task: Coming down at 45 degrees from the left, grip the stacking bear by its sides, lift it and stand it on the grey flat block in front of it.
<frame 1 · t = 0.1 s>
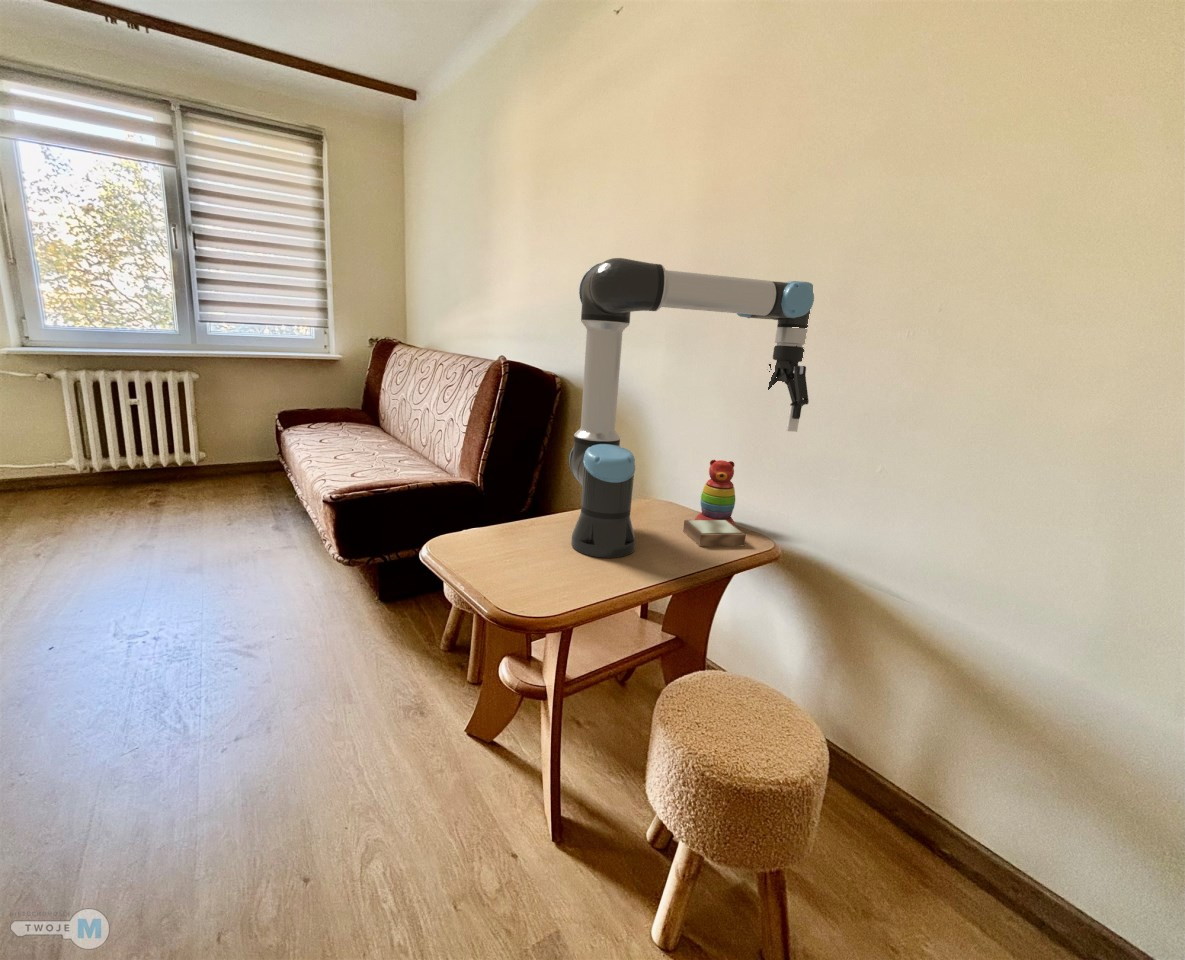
hand: (777, 427, 146), 28 cm above the table, tool pointing down, fingers open, 13 cm apart
grey flat block: (712, 538, 140), on the table
stacking bear: (714, 523, 153), on the table
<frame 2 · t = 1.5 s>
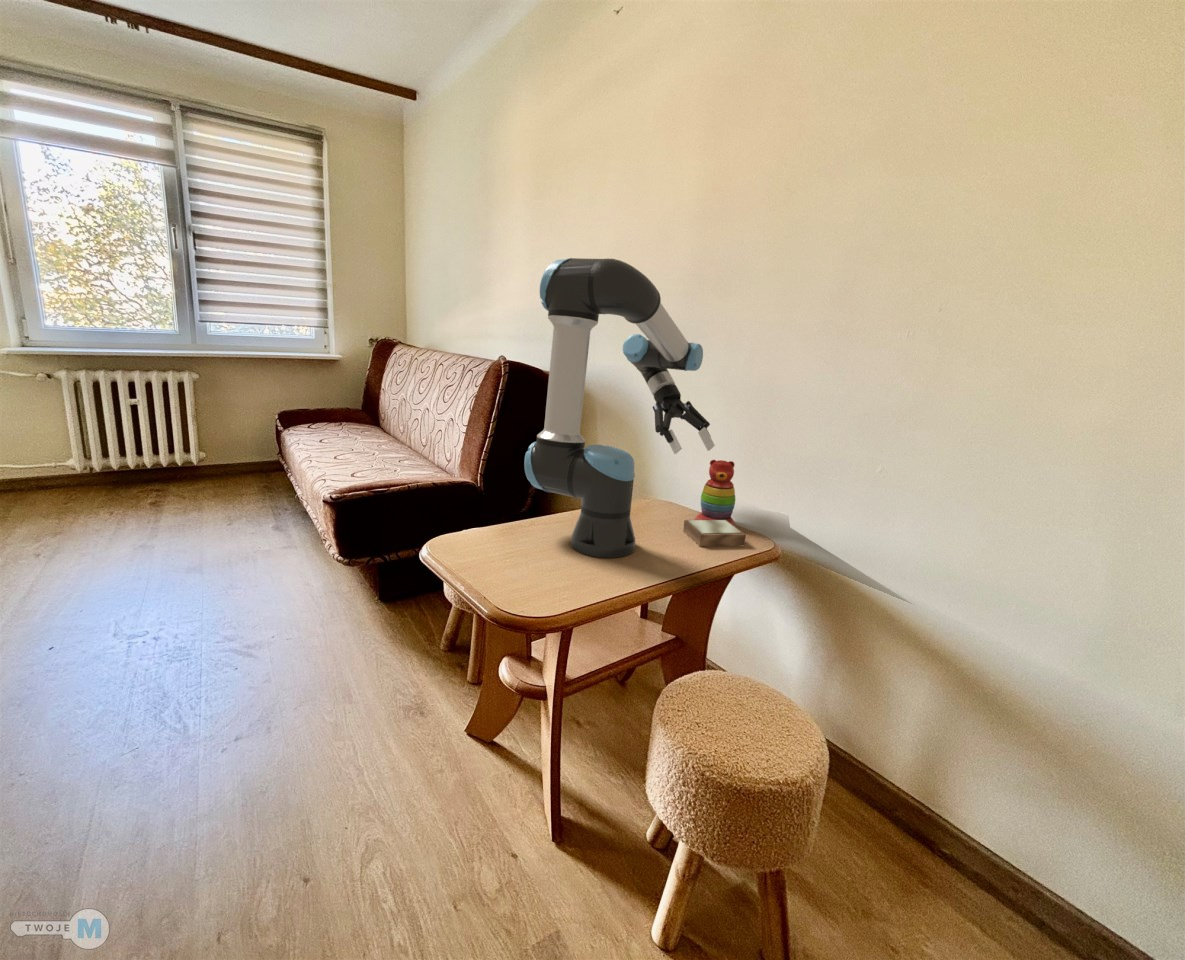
hand: (695, 449, 157), 19 cm above the table, tool tilted 45°, fingers open, 13 cm apart
nothing on the table moved.
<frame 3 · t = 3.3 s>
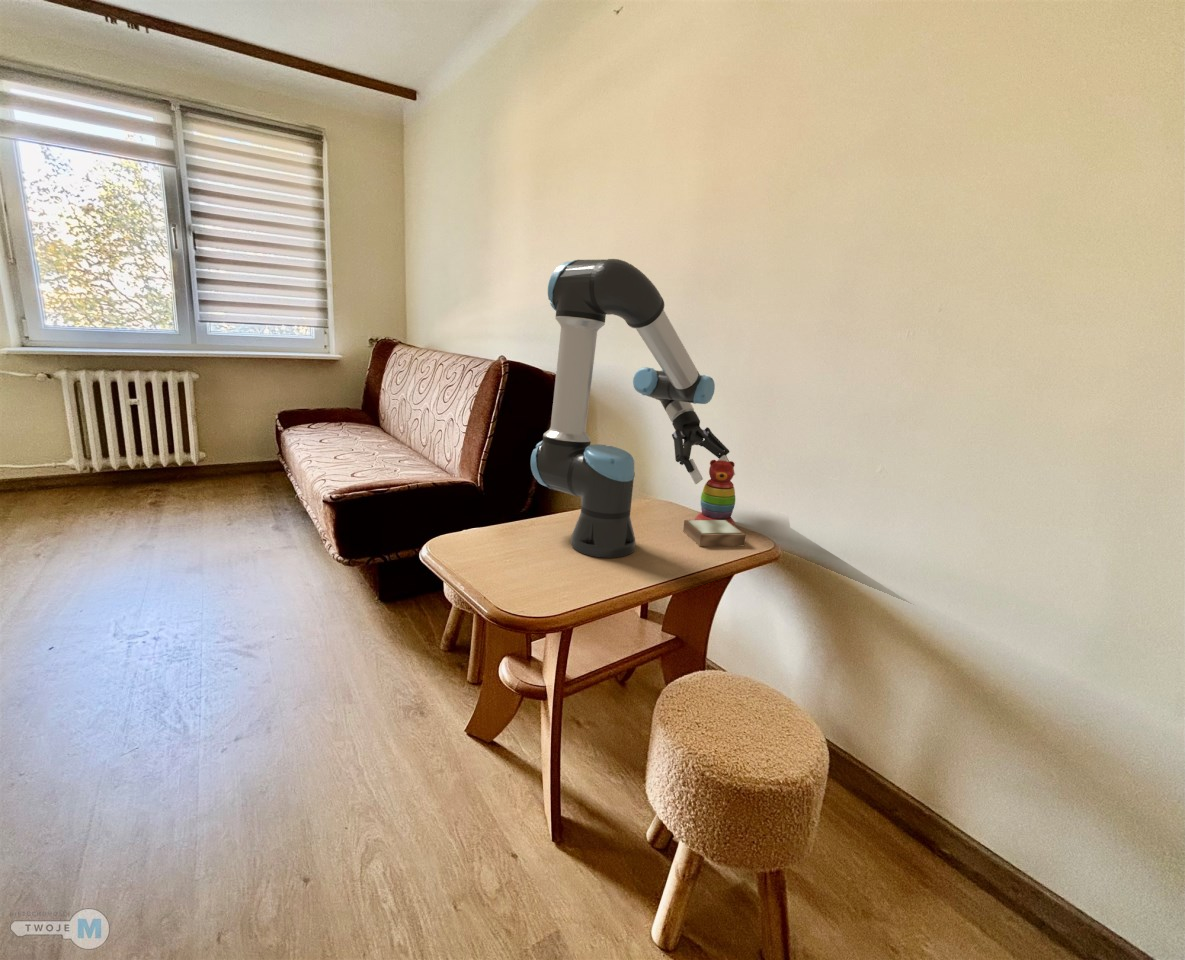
hand: (715, 479, 153), 12 cm above the table, tool tilted 45°, fingers open, 13 cm apart
nothing on the table moved.
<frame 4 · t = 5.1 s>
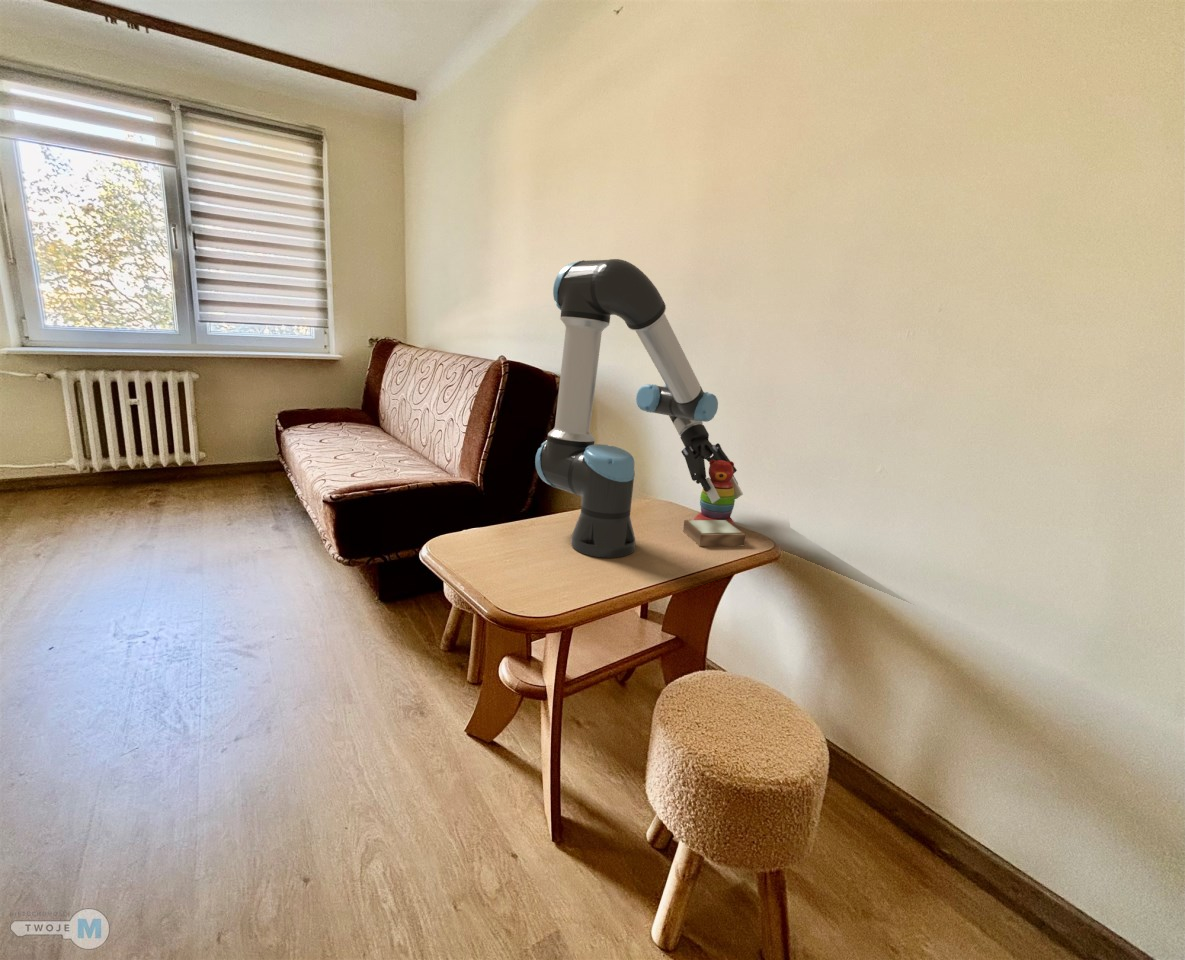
hand: (727, 498, 149), 8 cm above the table, tool tilted 45°, fingers closed on stacking bear, 9 cm apart
stacking bear: (714, 523, 153), on the table, touching gripper
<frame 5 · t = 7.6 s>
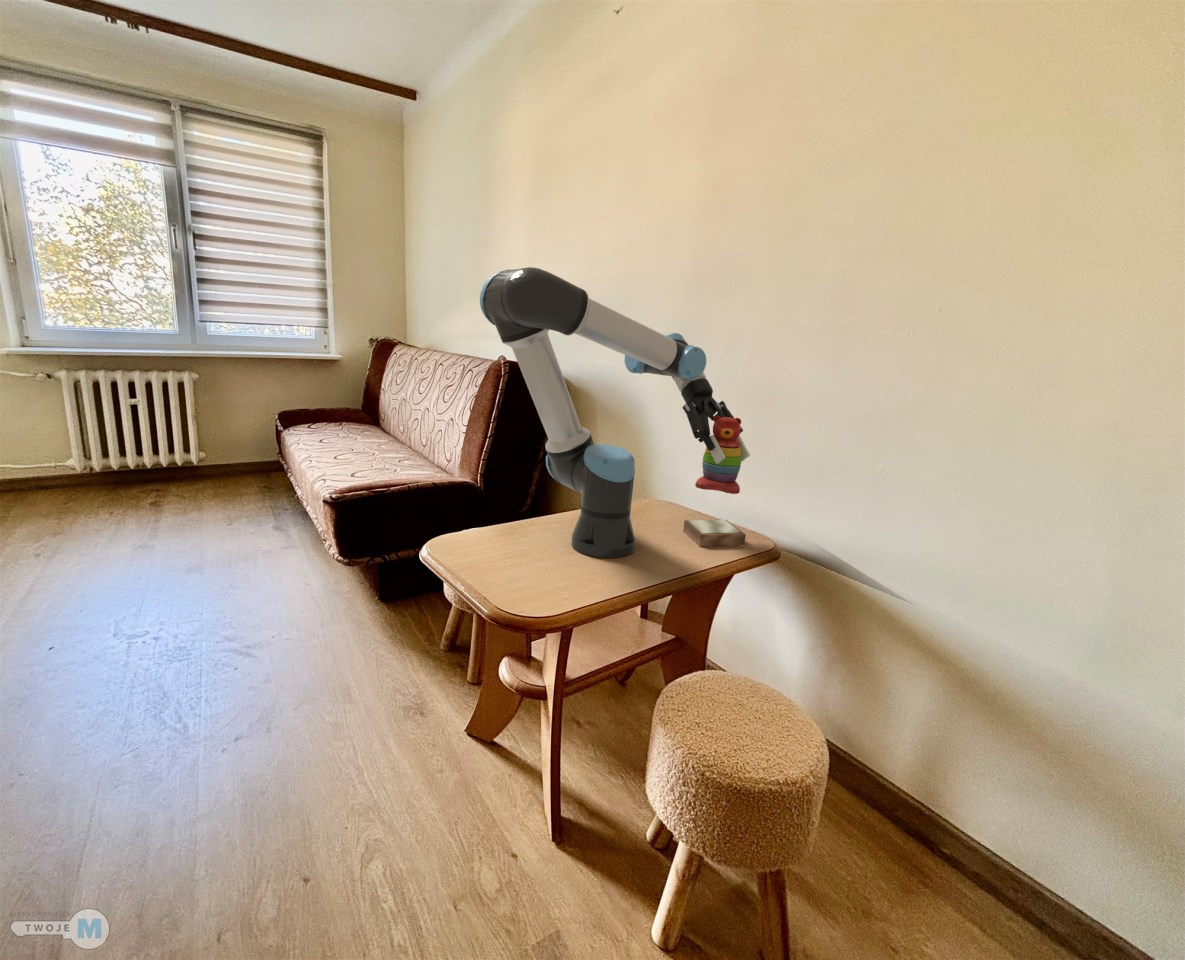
hand: (733, 459, 133), 21 cm above the table, tool tilted 45°, fingers closed on stacking bear, 9 cm apart
stacking bear: (717, 488, 138), point 13 cm above the table, touching gripper
when the fingers open (12 cm above the table, at t = 9.9 s): stacking bear drops 1 cm, resting on grey flat block.
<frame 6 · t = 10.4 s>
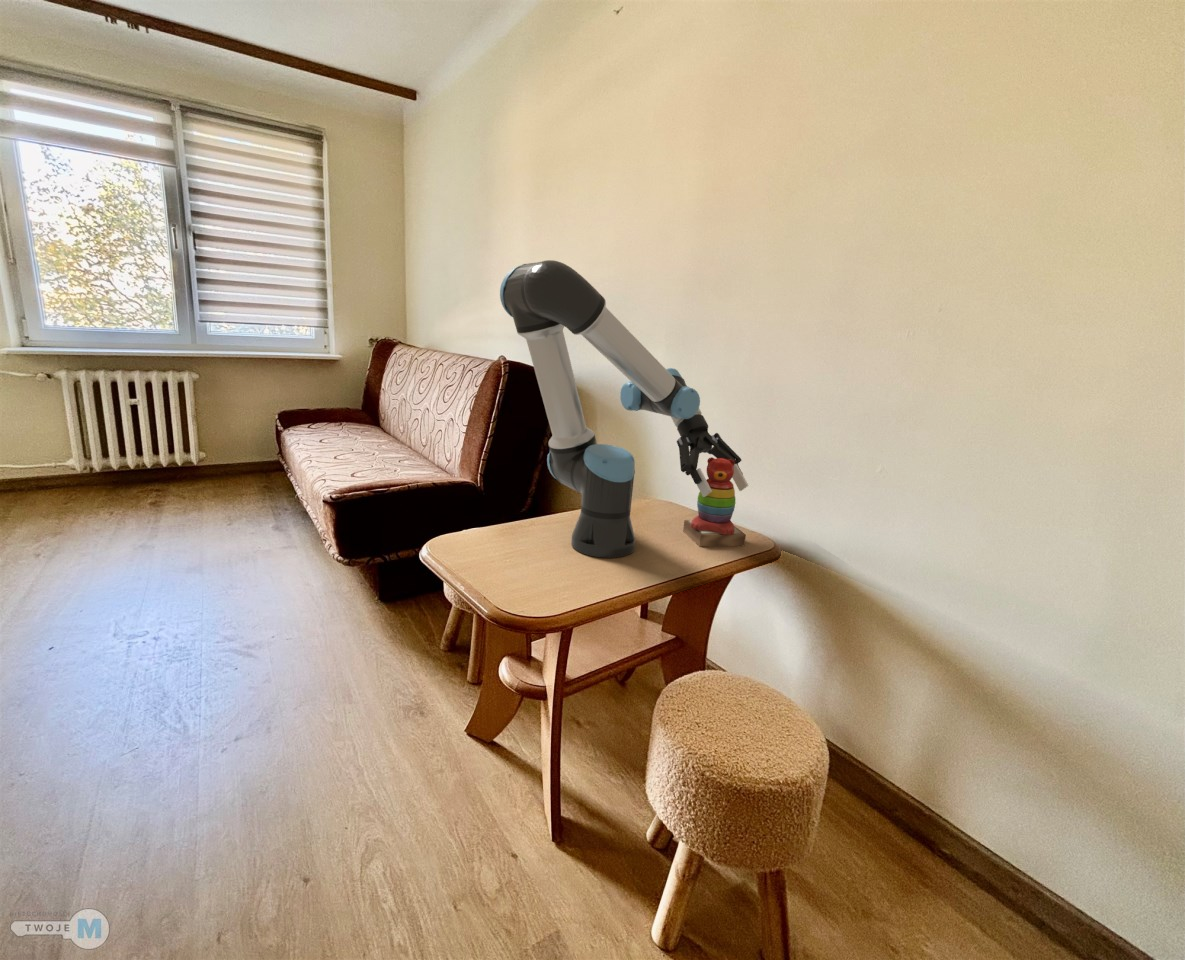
hand: (726, 491, 135), 13 cm above the table, tool tilted 45°, fingers open, 13 cm apart
stacking bear: (712, 527, 139), point 3 cm above the table, touching grey flat block
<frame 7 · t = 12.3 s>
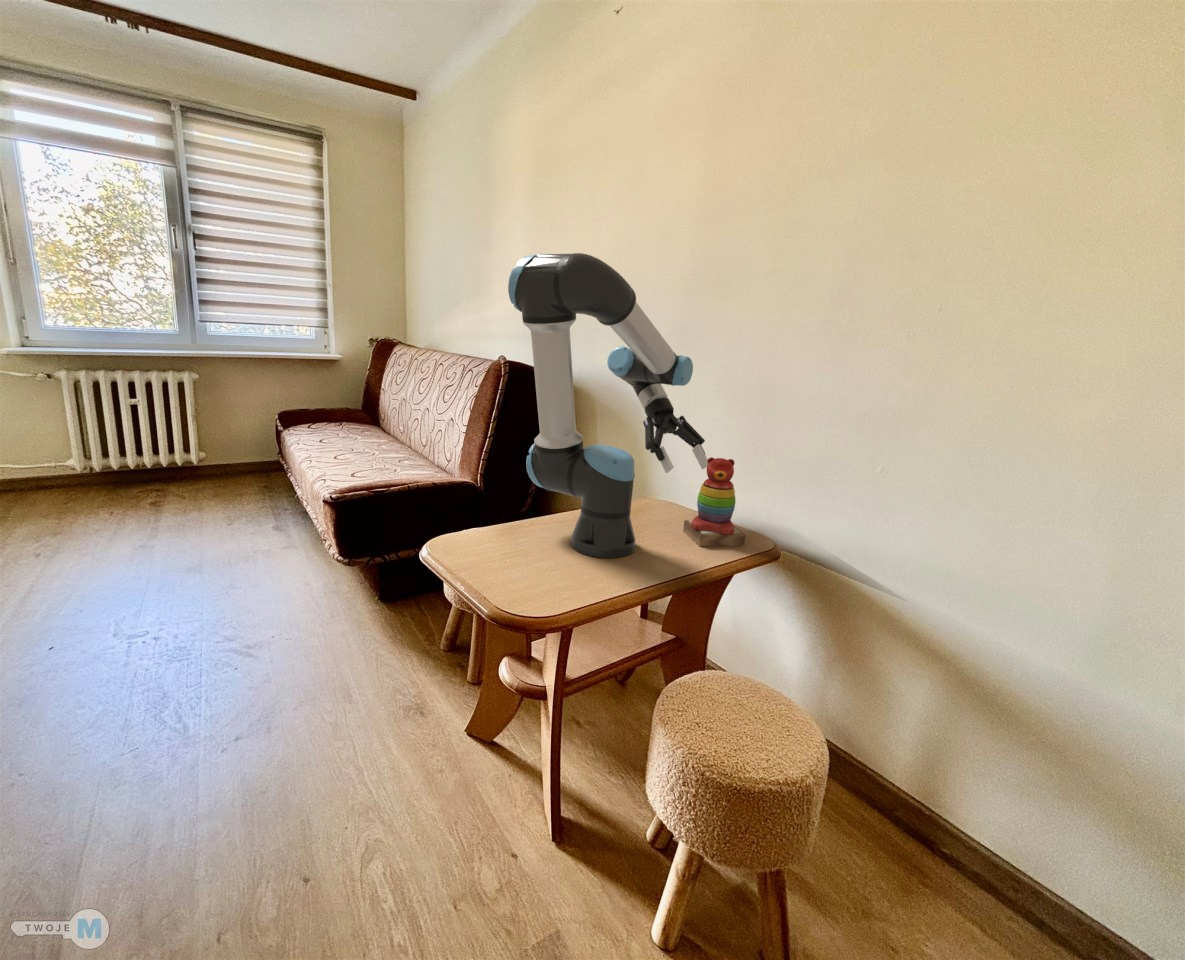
hand: (688, 468, 145), 16 cm above the table, tool tilted 45°, fingers open, 13 cm apart
nothing on the table moved.
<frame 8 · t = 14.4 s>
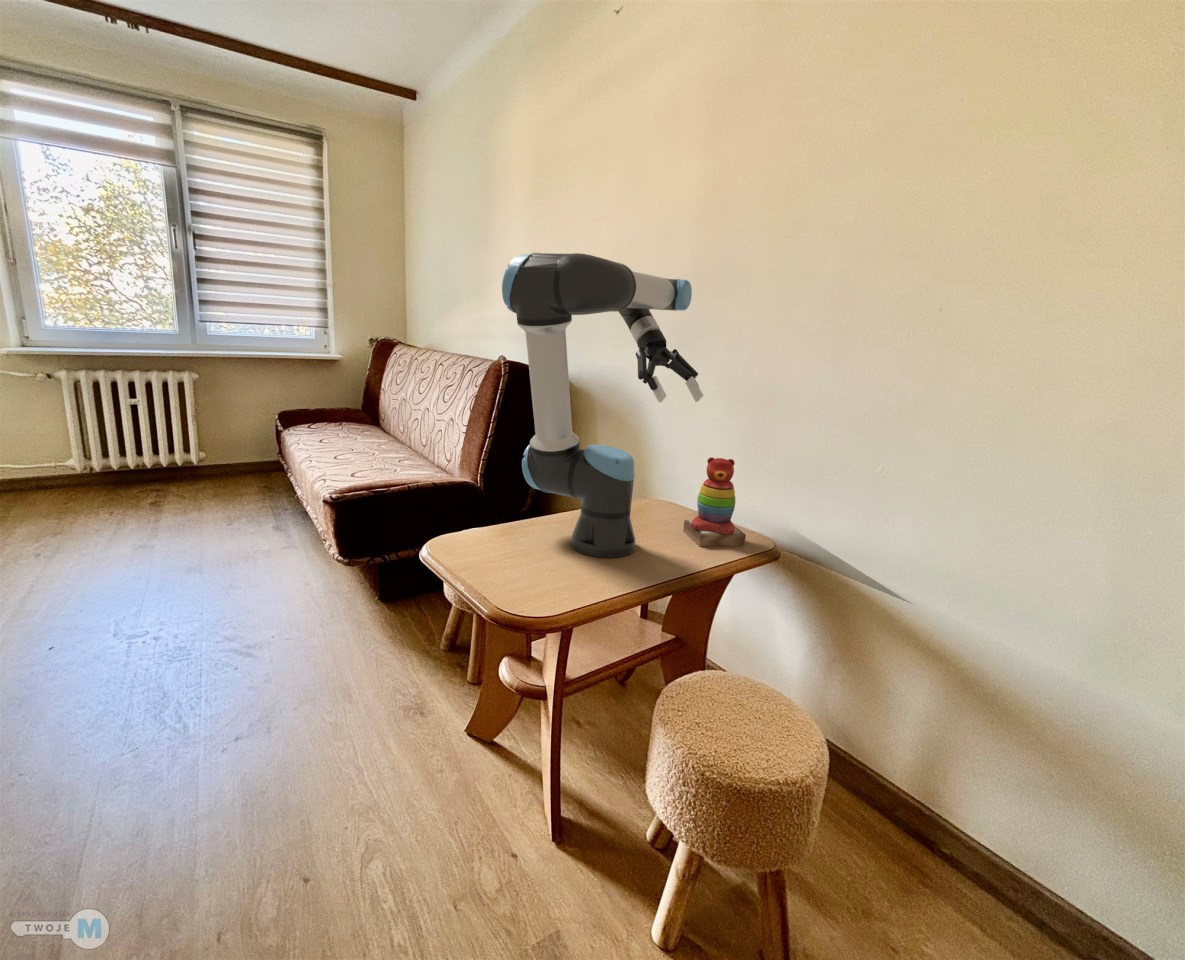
hand: (681, 399, 143), 34 cm above the table, tool tilted 45°, fingers open, 13 cm apart
nothing on the table moved.
at the end: stacking bear inside the target area on the grey flat block (0.5 cm from its centre), point 3.0 cm above the grey flat block's base; stacking bear tilted 0°; the gripper is holding nothing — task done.
